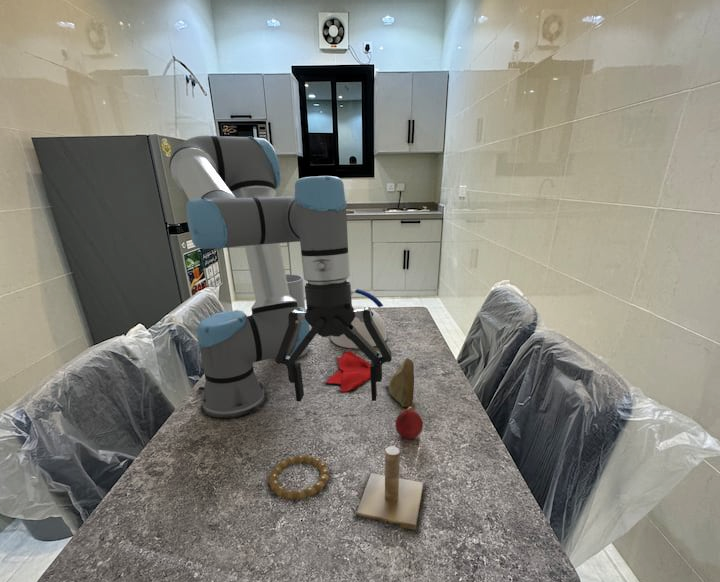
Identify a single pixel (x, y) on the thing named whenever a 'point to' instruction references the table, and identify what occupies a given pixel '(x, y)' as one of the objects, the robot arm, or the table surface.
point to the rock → (403, 384)
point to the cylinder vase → (297, 293)
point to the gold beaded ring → (299, 493)
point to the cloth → (350, 372)
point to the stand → (392, 494)
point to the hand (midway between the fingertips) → (336, 398)
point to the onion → (409, 423)
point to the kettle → (362, 325)
